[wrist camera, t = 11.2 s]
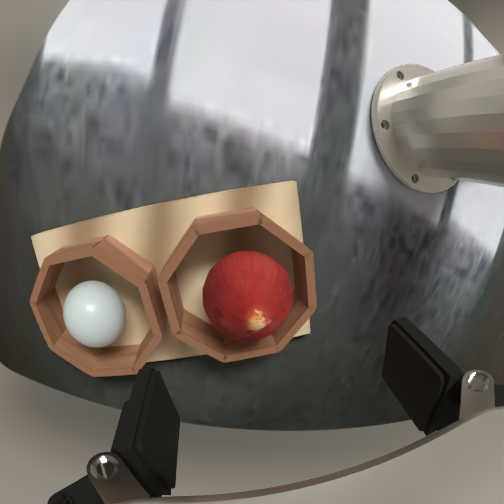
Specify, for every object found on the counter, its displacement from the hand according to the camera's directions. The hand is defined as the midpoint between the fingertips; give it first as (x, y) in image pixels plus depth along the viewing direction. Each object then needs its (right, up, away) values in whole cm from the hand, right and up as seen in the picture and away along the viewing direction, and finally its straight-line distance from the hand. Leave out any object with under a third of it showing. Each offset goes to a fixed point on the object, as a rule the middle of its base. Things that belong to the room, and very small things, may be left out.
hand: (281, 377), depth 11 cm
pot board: (-8, +2, +12) cm, 15 cm away
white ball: (-13, +1, +11) cm, 17 cm away
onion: (-2, +3, +12) cm, 13 cm away
